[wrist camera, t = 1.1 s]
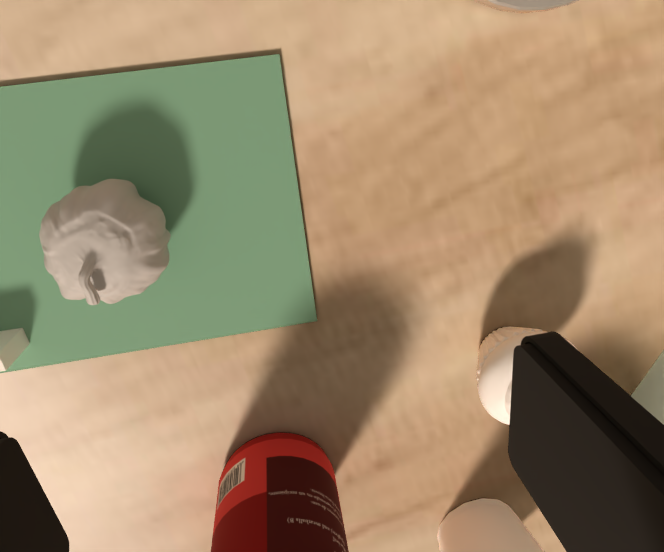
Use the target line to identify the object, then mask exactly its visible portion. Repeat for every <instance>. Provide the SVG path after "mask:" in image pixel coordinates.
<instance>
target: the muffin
mask: <svg viewBox="0 0 664 552" xmlns="http://www.w3.org/2000/svg"><path fill="white" fill-rule="evenodd" d="M542 333H547V331H542V330H541V329H533V328H523V327H512V326H508V327H503V328H498V330H496V331H493V332H492V333H489V334H488V336H487V337H485V340H483V341H482V344H481V345H480V349H479V353H478V365H477V377H476V380H478V384H477V386H478V392H479V397H480V400H481V402H482V404H483V406H484V408H485V409H486V411H487V412H488V413H489V414H490V415H491V416H492V417H494V418H495V419H497V420H498V421H500V422H502V423H505V424H507V425H510V407H511V389H512V370H513V353H514V348H515V347H516V346H518V345H521V341H522V339H523V338H524V337H526V336H530V335H536V334H542ZM563 338H564V337H563ZM564 339H565V340H567V339H566V338H564ZM567 341H568V342H569V343H570V344H571V345H572V346H574V345H573V344H572V343H571V342H570V341H569V340H567ZM574 347H575V346H574ZM575 348H576V347H575ZM576 349H577V348H576ZM577 350H578V349H577Z"/></svg>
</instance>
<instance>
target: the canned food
mask: <svg viewBox="0 0 664 552" xmlns="http://www.w3.org/2000/svg"><path fill="white" fill-rule="evenodd" d="M211 552H349V551H348V546H347V540H346V535H345V529H344V524H343V518H342V513H341V507H340V502H339V497H338V491H337V486H336V480H335V475H334V471H333V467H332V464H331V463H330V461H329V459H328V458H327V456H326V454H325V453H324V451H323V449H322V448H320V447H319V446H318V445H317V444H316V443H315V442H313V441H312V440H310V439H309V438H306V437H304V436H301V435H298V434H292V433H272V434H266V435H263V436H260V437H256V438H254V439H252V440H250V441H248V442H246V443H245V444H244V445H242V446H241V447H240V448H238V449H237V450H236V451H235V452H234V454H233V455H232V456H231V457H230V459H229V460H228V462H227V464H226V466H225V468H224V470H223V472H222V474H221V477H220V480H219V487H218V496H217V504H216V513H215V521H214V530H213V538H212V547H211Z"/></svg>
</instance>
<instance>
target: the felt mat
mask: <svg viewBox="0 0 664 552" xmlns="http://www.w3.org/2000/svg"><path fill="white" fill-rule="evenodd" d="M106 179H121V180H127V181H130V182H131V183H133V184H134V185H135V187H136V189H137V192H138V194H139V196H140V197H142V198H143V199H145V200H147V201H149V202H151V203H153V204H155V205H157V206H159V207H160V208H161V209H162V211H163V213H164V216H165V220H166V223H165V227H166V228H165V229H167V230H168V231H169V233H170V235H171V237H170V240H169V242H168V244H167V246H168V250H169V264H168V266H167V267H166V269H165V270H164V271H163V272H162V273H161V275H160V277H159V278H158V280H157V281H155V282H154V283H153V284H151V285H149V287H148V288H147V289H146V290H145V291H144V292H142V293H141V294H137V295H132V296H128V297H125V298H124V299H122V300H121V301H119V302H117V303H114V304H108V303H105V302H104V301H101V300H100V303H99V304H97V305H89V304H88V303H87V301H86V298H84V299H81V300H69V299H65V298H64V297H63V296H62V295H61V292H60V289H59V286H58V283H57V282H56V281H55V279H54V277H53V276H52V275H51V274H50V273H49V272H48V271H47V270H46V268H45V265H44V252H43V249H42V245H41V242H40V237H39V232H40V229H41V221H42V219H43V217H44V216H45V214H46V212H47V210H48V208H49V207H50V206H51V205H52V204H54V203H56V202H58V201H60V200H61V199H62V198H63V197H64V196H66V195H67V194H69V193H70V192H71V191H72V190H73V189H75V188H77V187H79V186H92V185H94V184H96V183H99V182H101V181H103V180H106ZM315 321H317V316H316V309H315V302H314V295H313V288H312V281H311V274H310V267H309V260H308V253H307V246H306V239H305V232H304V225H303V218H302V211H301V204H300V197H299V189H298V182H297V175H296V168H295V161H294V154H293V147H292V140H291V133H290V126H289V119H288V112H287V105H286V98H285V91H284V84H283V77H282V70H281V63H280V55H279V54H276V55H267V56H258V57H250V58H241V59H233V60H224V61H216V62H207V63H199V64H190V65H182V66H173V67H165V68H156V69H147V70H139V71H130V72H122V73H113V74H105V75H96V76H88V77H79V78H71V79H62V80H54V81H45V82H36V83H28V84H19V85H11V86H2V87H0V331H5V330H11V329H17V328H23V330H24V332H25V334H26V336H27V338H28V341H29V343H30V344H29V345H28V346H27V347H26V349H25V350H24V351H23V352H22V353H21V354H20V355H19V356H18V358H17V359H16V360H15V361H14V362H13V363H12V364H11V366H10V367H9V368H8V369H7V370H6V371H1V372H0V373H4V372H10V371H16V370H22V369H28V368H35V367H41V366H47V365H53V364H59V363H65V362H71V361H77V360H83V359H89V358H95V357H102V356H108V355H114V354H120V353H126V352H132V351H138V350H144V349H150V348H156V347H162V346H168V345H175V344H181V343H187V342H193V341H199V340H205V339H211V338H217V337H223V336H229V335H235V334H241V333H248V332H254V331H260V330H266V329H272V328H278V327H284V326H290V325H296V324H302V323H308V322H315Z"/></svg>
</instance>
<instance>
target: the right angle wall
mask: <svg viewBox="0 0 664 552" xmlns="http://www.w3.org/2000/svg"><path fill="white" fill-rule="evenodd" d="M631 397H632V398H633V399H635V400H636V401H637V402H638V403H639V404H640V405H642V406H643V407H644V408H645V409H646V410H647V411H648V412H650V413H651V414H652V415H653V416H654V417H655V418H656V419H658V420H659V421H660V422H661V423H662V424H663V425H664V350H663V352H662V353H661V354H660V356H659V357H658V359H657V360H656V361H655V363H654V364H653V366H652V367H651V368H650V370H649V371H648V372H647V374H646V375H645V377H644V378H643V379H642V381H641V382H640V384H639V385H638V386H637V388H636V389H635V391H634V392H633V393H632V395H631Z"/></svg>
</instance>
